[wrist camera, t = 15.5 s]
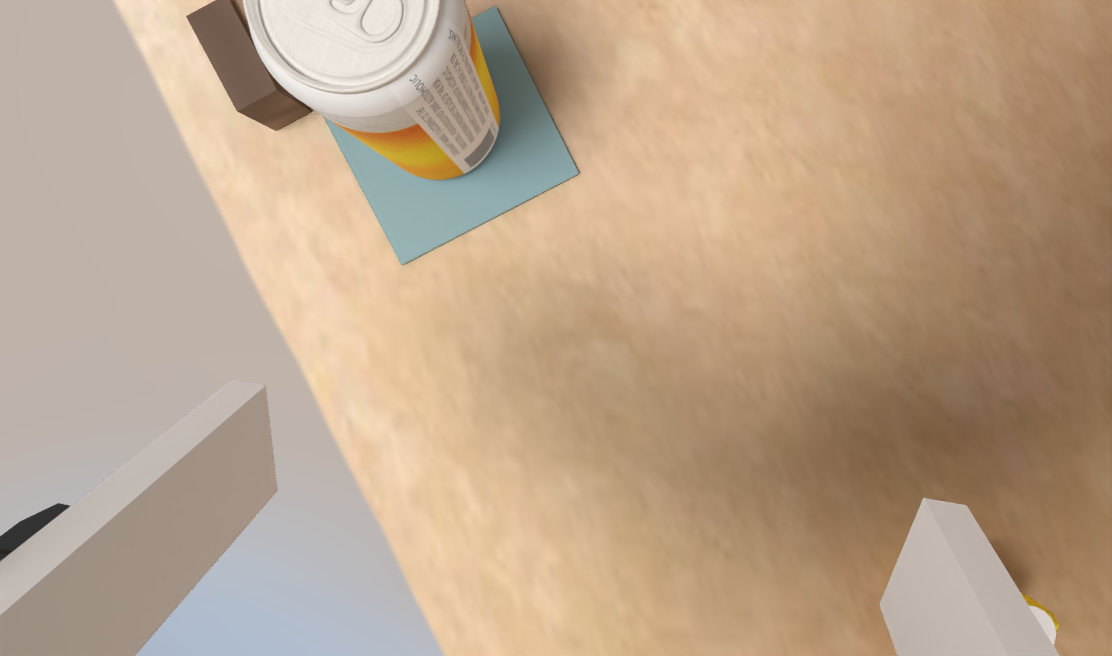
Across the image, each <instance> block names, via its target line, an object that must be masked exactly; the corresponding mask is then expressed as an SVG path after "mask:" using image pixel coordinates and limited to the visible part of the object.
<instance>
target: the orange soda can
mask: <svg viewBox="0 0 1112 656" xmlns="http://www.w3.org/2000/svg"><path fill="white" fill-rule="evenodd" d="M243 4H244V9H245V13H246V17H247V20H248V24H249V28H250V33H251V37H252V39H253V42H254V45H255V47H256V50H257V52H258V54H259V56H260V58H261V60H262V62H263V63H264V65H265V66H266V68H267V69H268V71H269V72H270V73H271V75H272V76H273V77H274V78H275V79H276V81H277V82H278V83H279V84H280V85H281V86H282V87H283V88H284V89H285V90H287V91H288V92H289V93H290V94H292V95H293V96H294V97H296V98H297V99H298V100H300V101H301V102H303V103H304V104H306V105H307V106H309V107H310V108H312V109H313V110H315V111H316V112H318V113H319V114H321V115H322V116H324V117H325V118H327V119H328V120H330V121H331V122H333V123H334V124H336V125H337V126H339V127H340V128H342V129H343V130H345V131H346V132H348V133H349V134H351V135H352V136H354V137H355V138H357V139H358V140H360V141H361V142H363V143H364V144H366V145H367V146H369V147H370V148H372V149H373V150H375V151H376V152H378V153H379V154H381V155H382V156H384V157H385V158H387V159H388V160H390V161H391V162H393V163H394V164H396V165H397V166H399V167H400V168H402V169H403V170H405V171H406V172H408V173H410V174H412V175H415V176H417V177H421V178H425V179H430V180H445V179H451V178H455V177H458V176H461V175H463V174H465V173H467V172H469V171H471V170H472V169H473V168H475V167H476V166H477V165H479V164H480V163H481V162H482V161H483V160H484V158H485V157H486V156H487V155H488V153H489V152H490V150H491V149H492V147H493V145H494V143H495V140H496V137H497V134H498V130H499V124H500V108H499V102H498V98H497V95H496V92H495V89H494V86H493V83H492V80H491V77H490V74H489V71H488V68H487V65H486V62H485V59H484V56H483V53H482V50H481V47H480V44H479V41H478V38H477V35H476V32H475V29H474V26H473V23H472V20H471V17H470V14H469V11H468V8H467V5H466V2H465V0H243Z"/></svg>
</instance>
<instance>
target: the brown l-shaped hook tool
mask: <svg viewBox="0 0 1112 656" xmlns="http://www.w3.org/2000/svg"><path fill="white" fill-rule="evenodd" d="M186 17H187V19H188V21H189V23H190V25H191V26H192V28H193V30H194V32H195V34H196V36H197V38H198V39H199V41H200V43H201V45H202V47H203V49H204V51H205V52H206V54H207V56H208V58H209V60H210V62H211V64H212V65H213V67H214V69H215V71H216V73H217V75H218V77H219V79H220V80H221V82H222V84H223V86H224V88H225V90H226V92H227V93H228V95H229V97H230V99H231V101H232V103H233V105H234V106H235V108H236V110H237V111H238V112H240V113H242V114H244V115H245V116H247V117H249V118H251V119H253V120H255V121H257V122H259V123H261V124H263V125H265V126H267V127H269V128H271V129H273V130H275V131H277V130H279V129H280V128H282V127H284V126H286V125H288V124H290V123H292V122H294V121H296V120H297V119H299V118H301V117H303V116H305V115H307V114H309V113H311V111H310V109H309V107H308V106H307V105H306V104H304V103H303V102H301V101H300V100H298V99H297V98H296V97H294V96H293V95H292V94H290V93H289V92H288V91H287V90H285V89H284V88H283V87H282V86H281V85H280V84H279V83H278V82H277V81H276V79H275V78H274V77H273V76H272V75H271V73H270V72H269V71H268V69H267V68H266V66H265V65H264V63H263V62H262V60H261V58H260V56H259V54H258V52H257V50H256V47H255V45H254V42H253V39H252V37H251V33H250V28H249V24H248V20H247V17H246V13H245V9H244V4H243V0H215V1H214V2H212V3H210V4H208V5H206V6H204V7H202V8H201V9H199V10H197V11H195V12H193V13H191V14H190V15H188V16H186Z"/></svg>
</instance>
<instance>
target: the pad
mask: <svg viewBox="0 0 1112 656" xmlns="http://www.w3.org/2000/svg"><path fill="white" fill-rule="evenodd" d="M471 20H472V23H473V26H474V29H475V32H476V35H477V38H478V41H479V44H480V47H481V50H482V53H483V56H484V59H485V62H486V65H487V68H488V71H489V74H490V77H491V80H492V83H493V86H494V89H495V92H496V95H497V98H498V102H499V108H500V124H499V130H498V134H497V137H496V140H495V143H494V145H493V147H492V149H491V150H490V152H489V153H488V155H487V156H486V157H485V158H484V160H483V161H482V162H481V163H480V164H479V165H477V166H476V167H475V168H473V169H472V170H471V171H469V172H467V173H465V174H463V175H461V176H458V177H455V178H451V179H445V180H430V179H425V178H421V177H417V176H415V175H412V174H410V173H408V172H406V171H405V170H403V169H402V168H400V167H399V166H397V165H396V164H394V163H393V162H391V161H390V160H388V159H387V158H385V157H384V156H382V155H381V154H379V153H378V152H376V151H375V150H373V149H372V148H370V147H369V146H367V145H366V144H364V143H363V142H361V141H360V140H358V139H357V138H355V137H354V136H352V135H351V134H349V133H348V132H346V131H345V130H343V129H342V128H340V127H339V126H337V125H336V124H334V123H333V122H331V121H330V120H328V119H327V118H325V117H324V116H323V117H324V119H325V121H326V123H327V125H328V126H329V128H330V130H331V132H332V134H333V136H334V138H335V140H336V142H337V144H338V145H339V147H340V149H341V151H342V153H343V155H344V157H345V159H346V161H347V163H348V164H349V166H350V168H351V170H352V172H353V174H354V176H355V178H356V180H357V182H358V183H359V185H360V187H361V189H362V191H363V193H364V195H365V197H366V199H367V200H368V202H369V204H370V206H371V208H372V210H373V212H374V214H375V216H376V218H377V219H378V221H379V223H380V225H381V227H382V229H383V231H384V233H385V235H386V237H387V238H388V240H389V242H390V244H391V246H392V248H393V250H394V252H395V254H396V256H397V257H398V259H399V261H400V263H401V265H404V264H406V263H408V262H410V261H412V260H414V259H416V258H417V257H419V256H421V255H423V254H425V253H427V252H429V251H431V250H433V249H435V248H437V247H439V246H441V245H443V244H445V243H447V242H448V241H450V240H452V239H454V238H456V237H458V236H460V235H462V234H464V233H466V232H468V231H470V230H472V229H474V228H476V227H477V226H479V225H481V224H483V223H485V222H487V221H489V220H491V219H493V218H495V217H497V216H499V215H501V214H503V213H505V212H507V211H508V210H510V209H512V208H514V207H516V206H518V205H520V204H522V203H524V202H526V201H528V200H530V199H532V198H534V197H536V196H537V195H539V194H541V193H543V192H545V191H547V190H549V189H551V188H553V187H555V186H557V185H559V184H561V183H563V182H565V181H567V180H568V179H570V178H572V177H574V176H576V175H578V174H579V172H578V170H577V168H576V166H575V164H574V162H573V160H572V158H571V156H570V154H569V152H568V150H567V148H566V146H565V144H564V142H563V140H562V138H561V136H560V134H559V132H558V130H557V128H556V126H555V124H554V122H553V120H552V118H551V116H550V114H549V112H548V110H547V108H546V106H545V104H544V102H543V100H542V98H541V96H540V94H539V92H538V90H537V88H536V86H535V84H534V82H533V80H532V78H531V76H530V74H529V72H528V70H527V68H526V66H525V64H524V62H523V60H522V58H521V56H520V54H519V52H518V50H517V48H516V46H515V44H514V42H513V40H512V38H511V36H510V34H509V32H508V30H507V28H506V26H505V24H504V22H503V20H502V18H501V16H500V14H499V12H498V10H497V8H496V6H494V7H492V8H490V9H488V10H487V11H485V12H483V13H481V14H479V15H477V16H475V17H473V18H472V19H471Z"/></svg>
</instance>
